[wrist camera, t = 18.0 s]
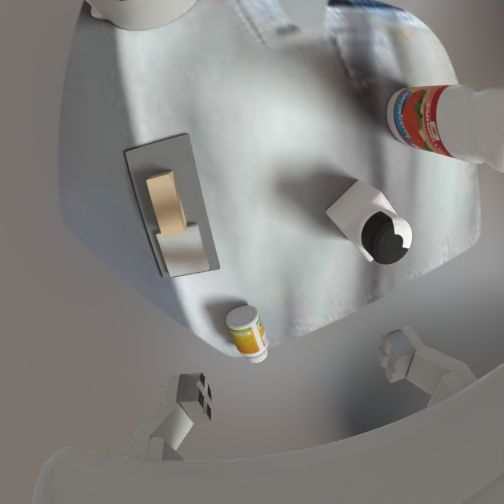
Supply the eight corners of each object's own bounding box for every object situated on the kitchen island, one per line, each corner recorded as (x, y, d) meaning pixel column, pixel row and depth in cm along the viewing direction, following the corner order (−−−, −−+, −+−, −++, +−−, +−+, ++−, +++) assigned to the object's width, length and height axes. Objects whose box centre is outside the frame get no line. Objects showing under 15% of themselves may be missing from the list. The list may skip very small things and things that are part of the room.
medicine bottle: (351, 242, 42) (386, 282, 31) (323, 211, 39) (356, 245, 28) (382, 211, 40) (426, 242, 29) (357, 178, 37) (401, 201, 26)
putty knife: (142, 178, 35) (135, 183, 32) (183, 167, 34) (179, 171, 32) (171, 273, 41) (168, 284, 38) (209, 266, 41) (207, 277, 38)
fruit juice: (435, 140, 35) (580, 190, 10) (392, 152, 36) (553, 216, 10) (422, 85, 31) (575, 96, 6) (377, 92, 32) (548, 93, 6)
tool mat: (126, 151, 33) (125, 152, 33) (188, 133, 33) (188, 134, 33) (164, 277, 42) (164, 279, 42) (220, 267, 42) (219, 269, 41)
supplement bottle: (218, 318, 44) (236, 357, 48) (239, 331, 40) (255, 371, 44) (243, 300, 46) (257, 339, 50) (265, 311, 42) (277, 351, 46)
